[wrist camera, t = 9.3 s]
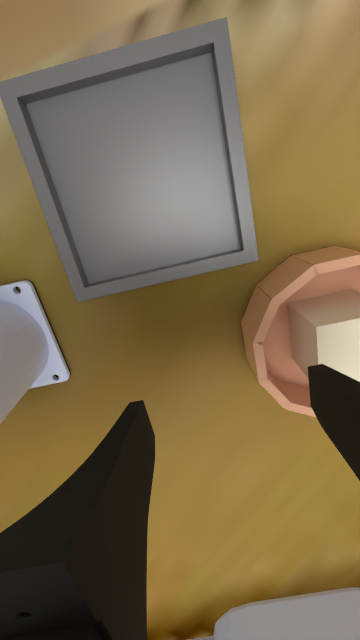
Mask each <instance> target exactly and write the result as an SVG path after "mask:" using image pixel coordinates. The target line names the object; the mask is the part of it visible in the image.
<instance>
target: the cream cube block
mask: <svg viewBox="0 0 360 640" xmlns="http://www.w3.org/2000/svg"><path fill="white" fill-rule="evenodd" d="M287 308H288V319H289V329H290V340H291V351H292V359H293V360H294V361H295V363H296V364H297V365H298V367H299V368H300V369H301V370H302V372H303V373H304V374H305V375H306V377H307V378H308V367H309V366H314V365H319V364H324V365H326V366H328V367H330V368H332V369H334V370H336V371H338V372H340V373H343V374H345V375H347V376H349V377H351V378H353V379H355V380H357V381H359V382H360V292H359V291H356V290H354V289H349V290H344V291H340V292H335V293H330V294H326V295H321V296H316V297H311V298H307V299H302V300H297V301H293V302H288V303H287Z"/></svg>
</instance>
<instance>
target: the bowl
mask: <svg viewBox="0 0 360 640" xmlns="http://www.w3.org/2000/svg"><path fill="white" fill-rule="evenodd" d="M349 289H354V290H356V291H359V292H360V251H356V250H351V249H347V248H343V247H338V246H331V247H327V248H322V249H318V250H313V251H309V252H305V253H300V254H296V255H291V256H290V257H289V258H287V259H286V260H285V261H284V262H283V263H281V264H280V265H279V266H278V267H277V268H275V269H274V270H273V271H272V272H271V273H270V274H268V275H267V276H266V277H265V278H264V279H262V280H261V281H260V282H259V283H258V284H256V286H255V289H254V291H253V294H252V296H251V299H250V301H249V303H248V306H247V308H246V311H245V313H244V316H243V318H242V321H241V327H242V333H243V339H244V345H245V351H246V357H247V359H248V361H249V363H250V365H251V367H252V369H253V371H254V373H255V375H256V378H257V380H258V382H259V383H260V384H261V385H262V386H263V387H264V388H265V389H266V390H267V391H268V392H269V393H270V394H271V395H272V396H273V398H274V399H275V400H276V401H277V402H278V403H279V404H280V405H281V406H282V407H283V408H284V409H286V410H290V411H294V412H298V413H302V414H306V415H310V416H314V417H316V415H315V413H314V411H313V409H312V407H311V403H310V391H309V379H308V378H307V377H306V375H305V374H304V373H303V372H302V370H301V369H300V368H299V367H298V365H297V364H296V363H295V361H294V360H293V359H292V351H291V340H290V329H289V319H288V308H287V303H288V302H293V301H297V300H302V299H307V298H311V297H316V296H321V295H326V294H330V293H335V292H340V291H344V290H349Z"/></svg>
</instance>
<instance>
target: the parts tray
mask: <svg viewBox="0 0 360 640" xmlns="http://www.w3.org/2000/svg"><path fill="white" fill-rule="evenodd" d="M0 97H1V100H2V103H3V105H4V108H5V111H6V113H7V116H8V119H9V121H10V124H11V127H12V129H13V132H14V135H15V137H16V140H17V143H18V146H19V148H20V151H21V154H22V156H23V159H24V162H25V164H26V167H27V170H28V172H29V175H30V178H31V180H32V183H33V186H34V188H35V191H36V194H37V197H38V199H39V202H40V205H41V207H42V210H43V213H44V215H45V218H46V221H47V223H48V226H49V229H50V231H51V234H52V237H53V239H54V242H55V245H56V248H57V250H58V253H59V256H60V258H61V261H62V264H63V266H64V269H65V272H66V274H67V277H68V280H69V282H70V285H71V288H72V290H73V293H74V296H75V299H76V301H77V302H80V301H84V300H88V299H93V298H97V297H101V296H106V295H110V294H115V293H119V292H123V291H128V290H132V289H136V288H141V287H145V286H150V285H154V284H158V283H163V282H167V281H171V280H176V279H180V278H185V277H189V276H193V275H198V274H202V273H206V272H211V271H215V270H219V269H224V268H228V267H233V266H237V265H241V264H246V263H250V262H254V261H259V259H258V252H257V244H256V236H255V229H254V221H253V213H252V206H251V198H250V190H249V183H248V175H247V167H246V160H245V152H244V145H243V137H242V129H241V122H240V114H239V106H238V99H237V91H236V83H235V76H234V68H233V60H232V53H231V45H230V37H229V30H228V22H227V17H225V18H222V19H218V20H215V21H211V22H208V23H204V24H201V25H197V26H194V27H190V28H187V29H183V30H180V31H176V32H173V33H169V34H166V35H162V36H159V37H155V38H152V39H148V40H145V41H141V42H138V43H134V44H131V45H127V46H124V47H120V48H117V49H113V50H110V51H106V52H103V53H99V54H96V55H92V56H89V57H85V58H82V59H78V60H75V61H71V62H68V63H64V64H61V65H57V66H54V67H50V68H47V69H43V70H40V71H36V72H33V73H29V74H26V75H22V76H19V77H15V78H12V79H8V80H5V81H1V82H0Z"/></svg>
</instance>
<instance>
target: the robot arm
mask: <svg viewBox="0 0 360 640" xmlns="http://www.w3.org/2000/svg"><path fill="white" fill-rule="evenodd" d="M16 287H19V288H20V289H21V292H18V291H17V290H16ZM54 375H58V376H59V378H57V377H55V376H54ZM69 377H70V372H69V370H68V367H67V365H66V363H65V360H64V358H63V355H62V353H61V351H60V348H59V346H58V344H57V341H56V339H55V336H54V334H53V332H52V329H51V327H50V324H49V322H48V320H47V317H46V315H45V313H44V310H43V308H42V305H41V303H40V301H39V298H38V296H37V294H36V291H35V289H34V286H33V285H32V283H31V282H29V281H27V280H23V281H19V282H14V283H10V284H6V285H2V286H0V424H1V423H2V421H3V420H4V419H5V418H6V416H7V415H8V414H9V413H10V411H11V410H12V409H13V408H14V407H15V405H16V404H17V403H18V402H19V400H20V399H21V398H22V397H23V396H24V394H25V393H26V392H27V391H28V389H30V388H35V387H40V386H45V385H49V384H54V383H59V382H64V381H66V380H68V378H69ZM308 379H309V391H310V403H311V407H312V409H313V411H314V413H315V415H316V417H317V419H318V421H319V423H320V424H321V426H322V428H323V429H324V431H325V432H326V434H327V435H328V436H329V438H330V439H331V441H332V442H333V444H334V445H335V446H336V448H337V449H338V451H339V452H340V453H341V455H342V456H343V458H344V459H345V460H346V462H347V463H348V465H349V466H350V467H351V469H352V470H353V472H354V473H355V474H356V476H357V477H358V479H359V480H360V382H359V381H357V380H355V379H353V378H351V377H349V376H347V375H345V374H343V373H340V372H338V371H336V370H334V369H332V368H330V367H328V366H326V365H324V364H319V365H314V366H309V367H308ZM154 462H155V435H154V432H153V429H152V426H151V423H150V420H149V417H148V414H147V411H146V408H145V405H144V402H143V400H141V401H136V402H131V403H129V404H128V406H127V407H126V409H125V410H124V411H123V413H122V414H121V416H120V417H119V419H118V420H117V421H116V423H115V424H114V426H113V427H112V428H111V430H110V431H109V433H108V434H107V435H106V437H105V438H104V439H103V440H102V442H101V443H100V444H99V445H98V447H97V448H96V449H95V450H94V452H93V453H92V454H91V455H90V456H89V458H88V459H87V460H86V461H85V462H84V463H83V464H82V465H81V466H80V467H79V468H78V469H77V470H76V471H75V472H74V473H73V474H72V475H71V476H70V477H69V478H68V479H67V480H66V481H65V482H64V483H63V484H62V485H61V486H60V487H59V488H57V489H56V490H55V491H54V492H53V493H52V494H51V495H50V496H49V497H47V498H46V499H45V500H44V501H43V502H41V503H40V504H39V505H38V506H36V507H35V508H34V509H33V510H31V511H30V512H29V513H28V514H26V515H25V516H24V517H22V518H21V519H20V520H18V521H17V522H15V523H14V524H12V525H11V526H10V527H8V528H7V529H5V530H4V531H2V532H1V533H0V640H147V610H146V573H147V526H148V512H149V504H150V495H151V487H152V479H153V471H154ZM188 640H360V588H344V589H337V590H331V591H324V592H318V593H311V594H304V595H298V596H291V597H285V598H278V599H271V600H265V601H258V602H252V603H248V604H244V605H241V606H238V607H235V608H232V609H230V610H229V611H228V612H226V613H225V614H224V615H223V616H222V617H221V618H219V619H218V621H217V622H216V624H215V629H214V636H209V637H202V638H195V639H188Z"/></svg>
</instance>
